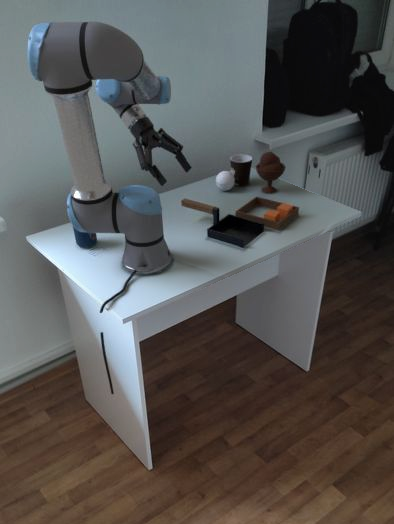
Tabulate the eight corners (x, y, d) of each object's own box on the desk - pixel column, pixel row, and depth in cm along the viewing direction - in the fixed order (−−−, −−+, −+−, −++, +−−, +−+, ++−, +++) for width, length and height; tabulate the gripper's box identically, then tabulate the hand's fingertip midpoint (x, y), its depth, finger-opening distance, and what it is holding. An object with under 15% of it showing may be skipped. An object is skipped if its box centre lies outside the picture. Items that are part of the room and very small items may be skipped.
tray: (235, 220, 178) (235, 211, 175) (255, 205, 186) (256, 196, 184) (278, 232, 170) (279, 223, 167) (298, 216, 178) (299, 207, 176)
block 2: (276, 207, 174) (287, 210, 172) (282, 202, 176) (293, 205, 174) (276, 218, 177) (286, 221, 175) (281, 214, 179) (292, 216, 177)
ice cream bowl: (283, 196, 191) (286, 156, 181) (253, 195, 193) (255, 156, 183) (284, 185, 199) (287, 146, 189) (255, 184, 201) (257, 146, 191)
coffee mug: (252, 187, 199) (253, 162, 192) (230, 188, 199) (230, 162, 192) (250, 176, 207) (251, 151, 201) (229, 176, 208) (229, 152, 201)
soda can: (97, 248, 166) (91, 214, 158) (76, 250, 165) (69, 216, 158) (97, 238, 171) (91, 205, 163) (77, 240, 171) (70, 207, 163)
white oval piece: (211, 189, 198) (211, 171, 194) (226, 184, 202) (226, 166, 197) (228, 197, 192) (228, 178, 187) (242, 192, 195) (243, 173, 191)
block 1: (263, 214, 170) (275, 216, 169) (269, 209, 173) (280, 211, 171) (263, 225, 173) (274, 228, 171) (268, 220, 176) (279, 223, 174)
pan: (172, 228, 175) (171, 206, 170) (194, 213, 183) (194, 192, 178) (243, 250, 162) (243, 227, 157) (263, 233, 170) (265, 211, 165)
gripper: (117, 126, 156) (159, 183, 159) (167, 106, 171) (204, 158, 174) (107, 141, 162) (147, 196, 165) (156, 120, 177) (192, 171, 180)
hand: (177, 177), depth 169 cm, fingers open, 13 cm apart
